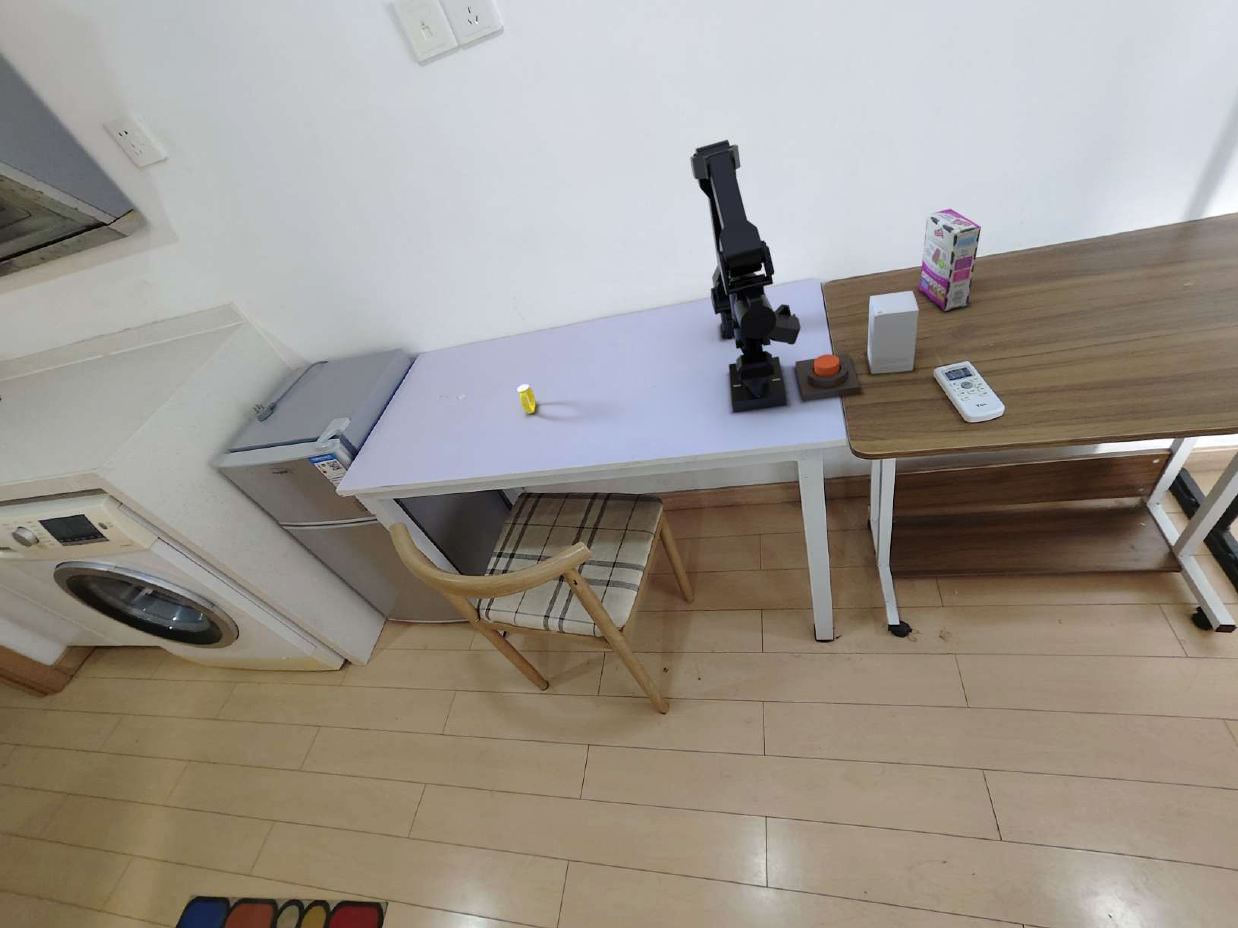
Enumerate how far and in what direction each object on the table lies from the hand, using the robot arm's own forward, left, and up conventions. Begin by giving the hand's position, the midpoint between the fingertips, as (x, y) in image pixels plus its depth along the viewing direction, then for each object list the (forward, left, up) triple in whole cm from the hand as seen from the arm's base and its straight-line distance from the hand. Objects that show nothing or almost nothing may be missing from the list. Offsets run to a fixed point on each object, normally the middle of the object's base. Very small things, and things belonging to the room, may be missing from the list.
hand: (756, 381), depth 112 cm
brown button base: (-1, +13, -3) cm, 13 cm away
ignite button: (0, +13, 0) cm, 13 cm away
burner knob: (0, 0, 0) cm, 0 cm away
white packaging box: (-4, +25, -3) cm, 26 cm away
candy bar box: (-24, +40, -3) cm, 47 cm away
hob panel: (-2, 0, -3) cm, 3 cm away
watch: (-6, -49, -3) cm, 49 cm away
